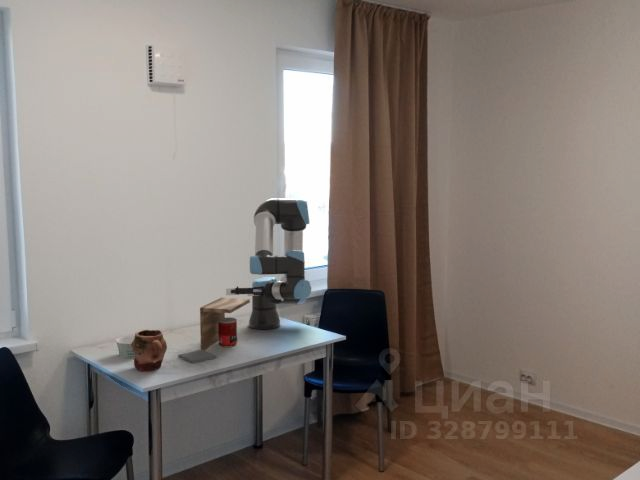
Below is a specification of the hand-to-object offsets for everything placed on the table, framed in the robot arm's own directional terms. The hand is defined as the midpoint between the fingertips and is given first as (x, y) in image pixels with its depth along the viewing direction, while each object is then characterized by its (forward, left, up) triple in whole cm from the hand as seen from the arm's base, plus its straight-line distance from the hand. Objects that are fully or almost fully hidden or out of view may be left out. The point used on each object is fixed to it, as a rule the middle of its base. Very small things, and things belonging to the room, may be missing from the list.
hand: (237, 292), depth 274 cm
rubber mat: (+24, +5, -23) cm, 33 cm away
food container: (+42, -16, -23) cm, 50 cm away
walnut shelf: (+4, -3, -23) cm, 23 cm away
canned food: (+4, -3, -23) cm, 23 cm away
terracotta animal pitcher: (+45, +6, -23) cm, 51 cm away
